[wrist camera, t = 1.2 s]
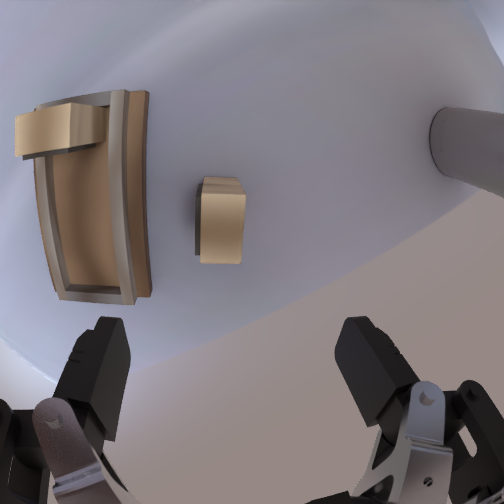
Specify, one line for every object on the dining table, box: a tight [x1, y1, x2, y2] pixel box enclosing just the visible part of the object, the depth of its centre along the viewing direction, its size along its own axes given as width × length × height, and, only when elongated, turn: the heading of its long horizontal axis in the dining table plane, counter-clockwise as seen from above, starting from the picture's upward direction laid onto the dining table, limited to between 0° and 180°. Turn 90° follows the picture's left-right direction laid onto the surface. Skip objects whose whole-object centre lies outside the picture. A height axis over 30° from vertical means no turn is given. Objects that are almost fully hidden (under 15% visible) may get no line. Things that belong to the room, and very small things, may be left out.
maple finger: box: [195, 177, 246, 264], centre depth 22 cm, size 5×3×7 cm, turn 175°
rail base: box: [15, 90, 152, 305], centre depth 19 cm, size 12×20×8 cm, turn 175°
